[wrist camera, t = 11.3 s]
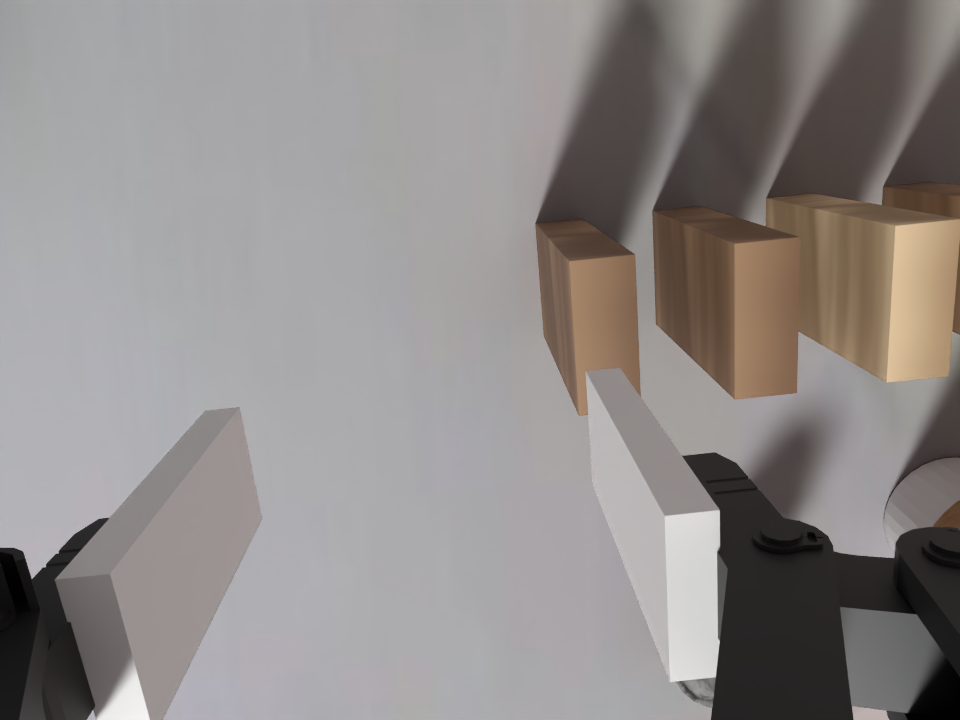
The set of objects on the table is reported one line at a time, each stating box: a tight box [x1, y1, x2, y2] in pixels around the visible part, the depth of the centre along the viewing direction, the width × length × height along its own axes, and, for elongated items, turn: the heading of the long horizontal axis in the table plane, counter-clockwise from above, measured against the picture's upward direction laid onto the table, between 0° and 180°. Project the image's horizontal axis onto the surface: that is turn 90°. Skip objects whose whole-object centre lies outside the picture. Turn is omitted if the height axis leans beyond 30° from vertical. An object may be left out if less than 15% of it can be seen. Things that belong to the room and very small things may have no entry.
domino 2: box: [653, 206, 800, 399], centre depth 29 cm, size 2×5×10 cm, turn 5°
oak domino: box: [766, 193, 960, 382], centre depth 29 cm, size 2×5×10 cm, turn 6°
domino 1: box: [535, 219, 641, 416], centre depth 29 cm, size 2×5×10 cm, turn 6°
